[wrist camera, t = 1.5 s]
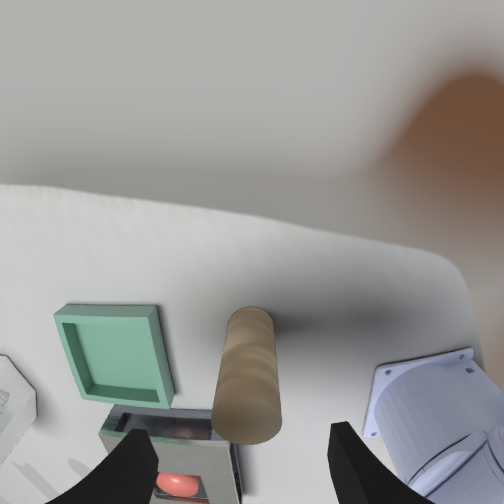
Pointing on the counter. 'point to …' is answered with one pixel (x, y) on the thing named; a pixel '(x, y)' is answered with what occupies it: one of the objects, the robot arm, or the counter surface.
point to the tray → (116, 354)
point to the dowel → (248, 381)
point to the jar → (14, 407)
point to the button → (178, 484)
